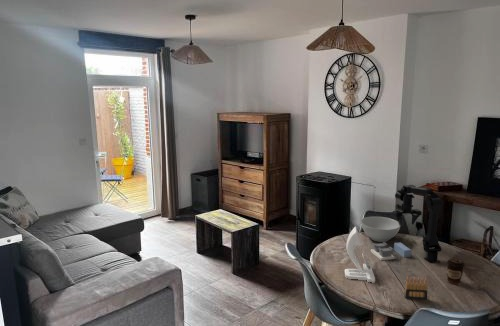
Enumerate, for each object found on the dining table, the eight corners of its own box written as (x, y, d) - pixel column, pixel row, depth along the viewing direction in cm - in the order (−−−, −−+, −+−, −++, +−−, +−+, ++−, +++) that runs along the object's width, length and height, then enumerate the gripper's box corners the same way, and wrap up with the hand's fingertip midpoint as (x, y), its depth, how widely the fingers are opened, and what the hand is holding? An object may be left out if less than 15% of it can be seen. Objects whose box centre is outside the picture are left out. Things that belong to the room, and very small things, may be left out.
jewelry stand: (374, 283, 202) (377, 240, 197) (346, 281, 204) (347, 239, 200) (367, 262, 226) (369, 224, 221) (342, 261, 229) (343, 223, 224)
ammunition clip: (405, 298, 187) (406, 276, 184) (404, 296, 189) (405, 275, 186) (427, 299, 185) (429, 278, 183) (426, 297, 187) (427, 276, 185)
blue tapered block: (410, 257, 233) (411, 249, 232) (404, 257, 232) (404, 250, 231) (400, 249, 244) (400, 242, 243) (393, 249, 243) (394, 242, 243)
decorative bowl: (352, 234, 271) (353, 218, 268) (383, 229, 278) (384, 214, 276) (375, 248, 245) (376, 231, 243) (408, 243, 253) (409, 226, 251)
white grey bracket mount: (394, 258, 230) (394, 249, 229) (380, 260, 229) (381, 250, 227) (383, 250, 243) (383, 241, 241) (370, 251, 241) (371, 242, 240)
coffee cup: (462, 287, 196) (464, 265, 193) (444, 283, 200) (446, 261, 197) (462, 280, 203) (465, 258, 200) (446, 276, 207) (448, 255, 205)
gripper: (413, 198, 256) (411, 220, 259) (388, 200, 253) (387, 222, 256) (422, 203, 245) (421, 225, 248) (397, 205, 242) (396, 227, 245)
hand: (406, 224), depth 250 cm, fingers open, 9 cm apart
